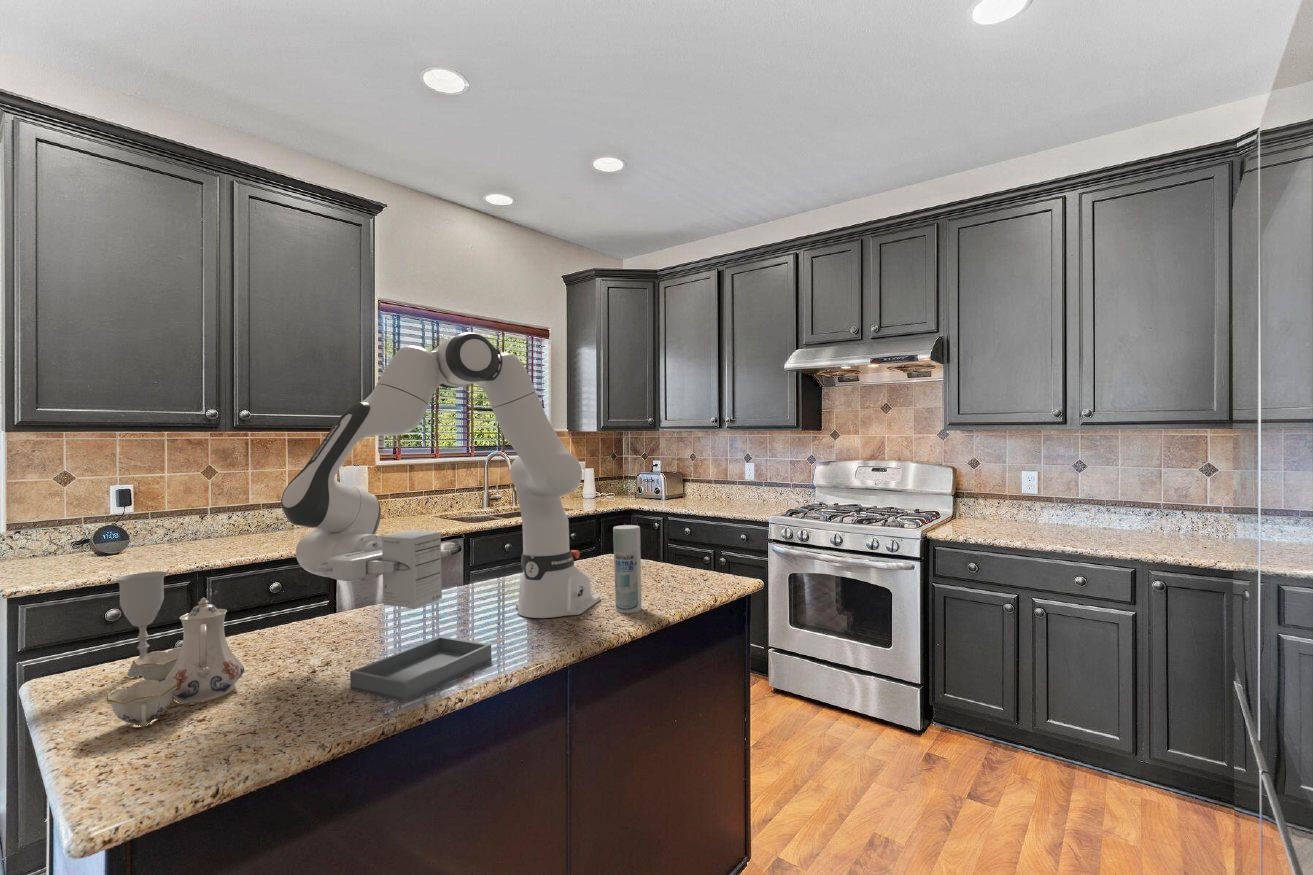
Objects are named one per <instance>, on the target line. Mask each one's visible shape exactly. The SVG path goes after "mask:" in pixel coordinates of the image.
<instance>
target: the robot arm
mask: <svg viewBox="0 0 1313 875" xmlns="http://www.w3.org/2000/svg"><path fill="white" fill-rule="evenodd" d="M473 384H475V385H478V386H479V387H480V388H481V389H482V390H483V393H484V394H485V395H486V397H487V400H488V403H489V404H490V407H491V409H492V413H493V415H494V416H495V419H496V421H497V424H498V426H499V428H500V431H501V433H502V435H503V437H504V439H505V441H507V442H508V443H509V444H510V446H511V447H512V448H513V450H514V452H515V453H516V454H517V455H518V456H517V457H515V459H514V460H513V461H512V463H511V465H510V470H509V474H510V479H511V482H512V484H513V485H514V487H515V491H516V497H517V502H518V506H519V510H520V515H521V521H522V548H523V551H522V554H521V560H520V562H521V569H522V571H523V572H522V573H521V574H520V576H519V577H520V578H519V588H518V602H516V603H515V608H516V609H517V614H518V615H520V616H522V617H525V618H532V619H533V618H534V619H548V618H551V619H552V618H557V617H563V616H564V617H565V616H577V615H581V614H583V613H584V612H585V611H586V610H588V609H589V608H591V607H592V606H594V605H595V604H596V603H598V602H599V601H600V600H601V595H599V594H596V593H593V592H592V587H591V586H592V585H591V580H590V578H589V576H588V575H586V573H584V572H583V571H582V570H581V569H580V568H578V567H577V566H576V565H575V561H574V559H579V557H580V551H579V550H578V549H577V550H576V549H575V550H574V549H570V528H569V527H570V524H569V523H570V521H569V518H568V515H567V514H566V512H565V510H564V506H563V503H562V500H561V497H562V496H566V495H568V494H571V493H572V492H574V491H576V489H577V488H578V487H579V485H580V484H581V482H582V477H583V470H582V465H581V463H580V462H579V460H578V459H577V458H576V457H575V456H573V455H572V454H571V453H570V451H569V450H568V449H567V447H566V446H565V444H564V442H563V441H562V439H561V438H560V437H559V435H558V434H557V433H556V431H555V429H554V428H553V426H552V425H551V423H550V420H549V418H548V417H547V414H546V412H545V410H544V407H543V405H542V402H541V400H540V397H539V396H538V393H537V391H536V388H535V386H534V383H533V382H532V379H531V378H530V375H529V373H528V372H527V370H526V369H525V367H524V365H523V363H522V362H521V361H520V359H519V358H518V356H516V355H515V354H513V353H509V352H501V351H499V350H498V348H496V347H495V346H494V345H493V343H491V341H490V340H488V339H487V338H486V337H485V336H483V335H481V334H479V333H476V332H461V333H460V334H457V335H454V336H452V337H449V338H447V339H445V340H444V341H442V343H441V344H439V345H437V346H436V347H434V348H432V349H431V350H427V349H426V348H423V347H421V346H417V345H406V346H403V347H401V348H399V349H398V350H397V351H396V353H395V354H394V355H393V356H392V358H391V359H390V361H389V362H388V364H387V365H386V367H385V368H384V369H383V372H382V373H381V375H380V377H379V379H378V380H377V382H376V386H374V388H373V390H372V391H371V393H370V394H369V395H368V396H367V397H366V398H365V399H364V400H362V401H359V402H355V403H353V404H351V405H349V407H348V408H346V410H345V411H343V413H342V414H341V415H340V416H339V417H338V419H337V421H336V422H335V423H334V425H332V428H331V429H330V430H329V432H328V433H327V434H326V435H325V437H324V439H323V440H322V442H321V443H320V445H319V446H318V447H317V449H316V450H315V451H314V453H313V454H312V456H311V457H310V459H309V460H308V461H307V463H306V464H305V465H304V467H303V468H302V469H301V470H300V471H299V472H298V474H297V475H295V477H294V478H292V479H291V481H290V482H289V483H288V484H287V486H286V487H285V488H284V490H283V492H282V495H281V499H280V500H281V502H280V503H281V508H282V510H283V514H284V515H285V517H286V519H287V520H288V521H289V523H291V524H292V525H295V526H300V527H307V528H311V529H312V528H314V530H313V531H312V532H309V533H308V534H306V535H304V536H303V537H302V538H301V539H300V540H299V541H298V542H297V545H296V547H295V557H296V560H297V562H298V565H300V567H301V568H303V570H305V571H307V572H309V573H311V574H313V575H316V576H320V577H324V578H325V577H326V578H331V579H333V580H338V581H343V582H352V581H359V582H371V581H372V580H375V579H377V578H378V577H379V576H383V573H384V572H387V573H392V572H395V571H398V562H397V561H382V536H385V535H386V534H381V535H380V534H376V533H377V531H378V528H379V525H380V523H381V522H380V521H381V516H382V515H381V514H382V512H381V511H382V508H381V503H380V501H379V499H378V498H377V496H376V495H375V494H373V493H371V492H368V491H365V490H363V489H360V488H358V487H355V486H350V485H348V484H346V483H343V482H339V481H337V480H335V476H336V474H337V473H338V471H339V470H340V469H341V467H342V465H344V463H345V461H346V460H347V458H348V457H349V455H350V454H351V452H352V451H353V449H354V448H355V446H356V445H358V443H359V442H360V441H362V440H363V439H365V438H368V437H374V436H381V437H382V436H384V437H389V436H390V437H395V436H396V437H397V436H401V435H404V434H408V433H410V432H411V431H413V430H415V429H416V428H417V427H419V425H420V424H421V422H422V420H423V419H424V416H425V414H426V412H427V410H428V408H429V405H430V403H431V400H432V398H433V395H434V393H435V391H436V390H437V389H438V388H439V387H442V388H446V389H459V388H462V387H468V386H471V385H473Z"/></svg>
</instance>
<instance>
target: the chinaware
mask: <svg viewBox="0 0 1313 875" xmlns="http://www.w3.org/2000/svg"><path fill="white" fill-rule="evenodd" d="M209 602H210V601H209V600H207V598H205V597H202V598H201V599H200V601H198V602H197V605H196V606H194V607H193V608H192V609H191V610H190V612H189V613H188V612H187V613H186V614H183V615H181V616H180V617H179V620H180V621H181V624H182V628H183V636H182V637H183V638H182V645H181V646H179V647H175V648H173V649H170V650H167V651H163V650H156V651H151V652H147V654H146V655H145V656H143V658H141V659H138V658H136V659H134V660H132V662H131V664H132V663H133V664H134V665H136V666H137V667H138V668H139V670H140V673H141V675H142V677H141V678H143V680H140V681H138V682H135V683H133V684H132V685H130V686H128V687H127V688H116V689H113V690H110V691H109V693H108V694H107V695H106V703H107V704H108V705H111V707H112V711H113V712H114V714H115V716H116V717H117V718H118V719H119V720H121V721H122V722H125V723H129V724H135V725H138V726H139V725H140V726H141V727H140V728H144V727H147V726H146V725H147V724H148V723H150V722H151V721H152V720H154V719H157V717H159V716H160V715H161V714H163V713H164V712H165V711H166V710H167V708H168V707H169V706H170V704H171V702H172V700H173V701H174V700H175V701H177V702H179V703H183V704H182V705H191V704H190V703H195V704H199V703H198V702H201V703H203V702H202V701H206V702H210V701H213V699H214V700H216V699H217V700H218V699H220V698H222V696H223V697H225V696H227V695H229V694H231V693H232V692H234V691H235V690H236V683H237V682H238V681H239V679H241V677H242V676H243V674H244V672H245V666H244V665H243V663H242V662H241V661H240V660H239V659H238V657H236V656H235V655H234V653H233V652H232V650H231V649H230V646H229V643H228V641H227V638H226V634H225V618H226V613H227V612H228V610H227V609H225V608H217V607H216V605H214V604H210V603H209ZM173 697H174V698H173Z"/></svg>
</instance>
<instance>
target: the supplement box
mask: <svg viewBox="0 0 1313 875" xmlns="http://www.w3.org/2000/svg"><path fill="white" fill-rule="evenodd" d="M384 535H385V536H382V561H397V562H398V571H395V572H392V573H387V572H384V573H383V574H382V591H383V592H382V595H383V599H382V600H383V606H391V607H400V608H406V609H407V608H408V609H411V610H412V609H413V610H415V609H418V608H422V607H424V606H427V605H429V604H432V603H435V602H437V601H439V600H441V599H443V598H442V596H443V595H442V594H443V592H442V586H443V585H442V584H443V583H442V579H443V578H442V546H441V543H442V542H441V541H442V540H441V539H442V538H441V532H440V531H429V530H428V531H427V530H416V529H415V530H413V529H409V530H404V531H399V532H394V533H391V534H384Z"/></svg>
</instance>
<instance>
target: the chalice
mask: <svg viewBox="0 0 1313 875" xmlns="http://www.w3.org/2000/svg"><path fill="white" fill-rule="evenodd" d="M167 573H168V572H167V571H147V572H139V573H132V574H127V575H122V576H119V577H116V578H115V581H116V582H117V583H118V585H119V607H120V608H121V610H122V612H123V615H124V616H125V617H126V619H127V620H128V622H129V623H130V624H131V626H134V627H138V630H139V633H138V636H137V638H136V639H138V641H139V644H138V646H137V647H136V649H138V651H139V657H138V658H137V659H141V658H143V656H145V655H146V654H148V648H149V647H150V644H148V642H147V640H148V637H149V636H150V635H149V634H148V632H147V629H148V628H147V627H148V626H149V625H150V624H152V623H154V621H155V618H156V617H157V615H158V613H159V611H160V609H161V607H162V604H163V601H164V599H165V590H164V589H165V587H164V583H165V582H164V578H165V577H166V575H167ZM126 675H128V676H129V677H138V676H142V675H141V673H140V670H139V668H138V667H137V666H136V665H134V664H133V663H132V662H131V664H130V667H129V669H128V670H127V674H126Z"/></svg>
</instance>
